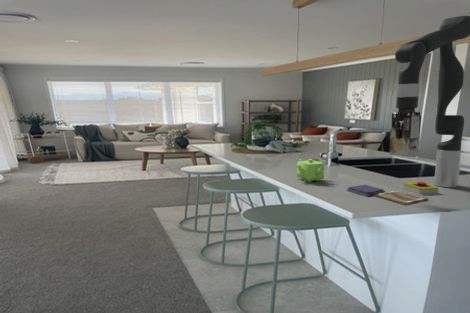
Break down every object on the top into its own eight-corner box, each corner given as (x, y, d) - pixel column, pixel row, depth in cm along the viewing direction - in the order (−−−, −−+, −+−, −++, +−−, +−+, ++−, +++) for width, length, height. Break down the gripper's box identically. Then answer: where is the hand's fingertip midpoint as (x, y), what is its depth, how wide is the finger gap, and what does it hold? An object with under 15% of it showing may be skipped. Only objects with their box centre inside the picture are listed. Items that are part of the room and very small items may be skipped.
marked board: (396, 191, 138) (397, 190, 138) (427, 200, 126) (428, 198, 126) (374, 196, 133) (374, 194, 132) (404, 205, 120) (404, 203, 120)
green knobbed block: (298, 176, 173) (298, 156, 171) (324, 178, 168) (325, 157, 167) (294, 182, 159) (294, 160, 157) (323, 184, 154) (323, 162, 153)
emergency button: (423, 186, 132) (399, 179, 146) (422, 196, 132) (398, 188, 147) (442, 185, 133) (416, 178, 148) (441, 195, 134) (416, 187, 148)
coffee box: (419, 155, 124) (422, 115, 121) (409, 157, 121) (412, 115, 119) (398, 153, 132) (401, 115, 130) (388, 154, 129) (390, 115, 127)
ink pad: (364, 187, 146) (364, 184, 146) (384, 193, 137) (385, 189, 136) (347, 190, 142) (347, 187, 142) (366, 196, 132) (366, 192, 132)
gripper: (410, 96, 129) (408, 136, 132) (386, 96, 123) (384, 138, 126) (428, 95, 123) (425, 137, 125) (403, 95, 117) (401, 140, 119)
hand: (404, 138), depth 125 cm, fingers closed on coffee box, 6 cm apart
